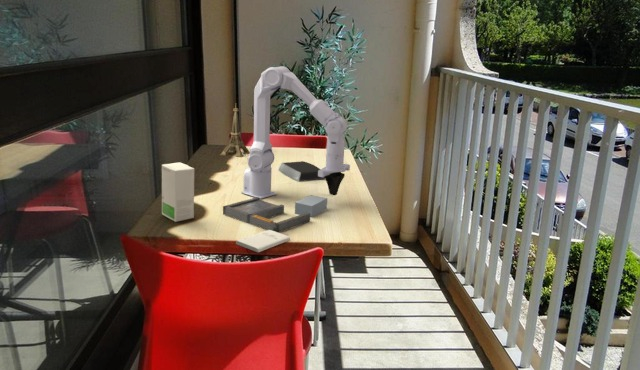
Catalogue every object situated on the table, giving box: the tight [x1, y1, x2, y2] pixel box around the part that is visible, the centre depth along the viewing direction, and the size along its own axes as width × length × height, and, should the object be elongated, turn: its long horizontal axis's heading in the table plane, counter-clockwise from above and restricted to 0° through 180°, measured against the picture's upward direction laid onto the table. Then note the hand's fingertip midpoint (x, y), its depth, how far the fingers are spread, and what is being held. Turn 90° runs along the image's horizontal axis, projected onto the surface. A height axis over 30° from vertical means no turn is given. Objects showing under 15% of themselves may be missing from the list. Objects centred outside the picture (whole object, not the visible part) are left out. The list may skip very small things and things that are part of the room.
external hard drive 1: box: [235, 230, 291, 253], centre depth 144 cm, size 2×8×12 cm
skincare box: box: [161, 161, 195, 223], centre depth 158 cm, size 8×7×16 cm
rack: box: [222, 197, 311, 233], centre depth 162 cm, size 23×14×3 cm, turn 51°
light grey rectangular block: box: [294, 194, 328, 218], centre depth 170 cm, size 6×10×4 cm, turn 151°
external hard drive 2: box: [278, 160, 326, 183], centre depth 214 cm, size 13×19×4 cm
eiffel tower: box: [219, 104, 250, 158], centre depth 242 cm, size 11×11×25 cm
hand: (333, 194), depth 178 cm, fingers closed
